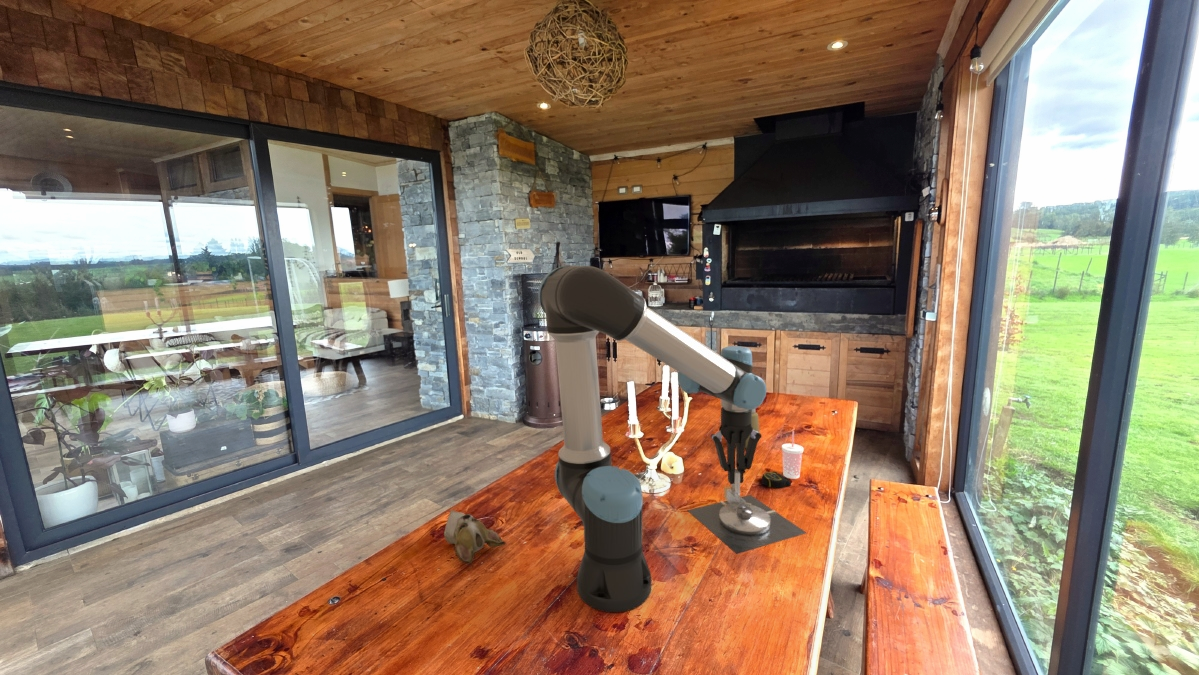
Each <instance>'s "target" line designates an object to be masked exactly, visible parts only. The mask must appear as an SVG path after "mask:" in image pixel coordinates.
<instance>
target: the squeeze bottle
mask: <svg viewBox="0 0 1199 675" xmlns="http://www.w3.org/2000/svg"><path fill="white" fill-rule="evenodd" d="M756 409H757V408H755V409H752V421H751V425H752V427H753V430H756V431H758V432H759V433H760V423H759V422H760V421H759V420H760V419H759V414H758V413H757V412H756ZM749 438H750V435H749V437H748V438H747V440H746V446H745V449H747V445H748V441H749ZM758 443H759V441H758V442H757V444H758Z"/></svg>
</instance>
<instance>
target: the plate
mask: <svg viewBox="0 0 1199 675" xmlns="http://www.w3.org/2000/svg"><path fill="white" fill-rule="evenodd" d="M740 497H741V498H743V499H744V500H745V501H746V504H750V505H754V506H757V507H759V508H761V509H763V510H764V511H766V512H767V513H768V514H769V516H770V528H769V530H767V531H766V532H764V533H762V534H758V535H744V534H739V533H735V532H733V531H730V530H728V529H727V528H725V527H724V526H723V525H722V524H721V523H720V520H719V512H720V509H721V508H722V507H724V506H725V505H728V504H730V503H729V502H728V501H727V500H725V501H723V500H719V502H716V503H712V504H709V505H704V506H700V507H696V508H691V509H688V510H687V512H688V513H689V514H691V516H693V517H694V518H695V519H696V520H697V521H699V522H700V523H701V524H702V525H703V526H704V527H706V528H707V530H709V531H710V533H712V534H713V535H714V536H716V537H717V538H718V539H719V540H720V541H721V542H722V543H723V544H724V545H725V546H726V547H728V549H730V550H731V551H732V552H734V553H735V554H736V555H738V554H741V553H745V552H748V551H751V550H755V549H758V548H762V547H765V546H768V545H772V544H776V543H777V542H778V543H779V542H781V541H785V540H789V539H792V538H794V537H799V536H802V535H805V534H807V532H806V531H804V530H803V529H801V527H799V526H797V525H796V524H795V523H793V522H792V521H791V520H788V519H787V518H785V517H784V516H783V515H781V514H780V513H778V512H777V511H776V510H775V509H772V508H771V507H769V506H768V505H766V504H765V503H763V502H762V501H761V500H759V499H758V498H756V497H755V496H753V495H751V494H749V495H745V496H740Z"/></svg>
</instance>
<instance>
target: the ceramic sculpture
mask: <svg viewBox="0 0 1199 675" xmlns="http://www.w3.org/2000/svg"><path fill="white" fill-rule="evenodd" d="M443 535H444V539H445V541H446V542H447V543H449V545H454V552H455V554H456V556H457V558H458V559H459V561H461V562H462V563H465V564H469V565H472V563H473V561H474V557H475V553H477V552H479V551H480V550H482V549H483V548H484V546H485V544H486V545H488V547H490V548H496V547H501V546H505V545H506V542H505V541H504V540H502V538H501V536H499V533H497V532H496V531H494V529H491V528H486V525H485V524H484V523H483V522H481V521H480V520H479V519H477V518H475V517H474V516H473V515H472V514H469V513H467V514H465V513H463V512H461V511H459V512H458V511H455V510H453V509H451V510H450V512H449V515H448V517H447V520H446V523H445V528H444V532H443Z"/></svg>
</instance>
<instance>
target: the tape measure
mask: <svg viewBox="0 0 1199 675" xmlns="http://www.w3.org/2000/svg"><path fill="white" fill-rule="evenodd" d="M761 483H762V485H764V486H766V487H768V488H771V489H784V488H790V487H791V486H792V482H791V480H789V478H787V477H785V476H784V475H783V474H780V473H779V472H777V471H775V470H773V471H767V472H764V473H763V474H762V476H761Z"/></svg>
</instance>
